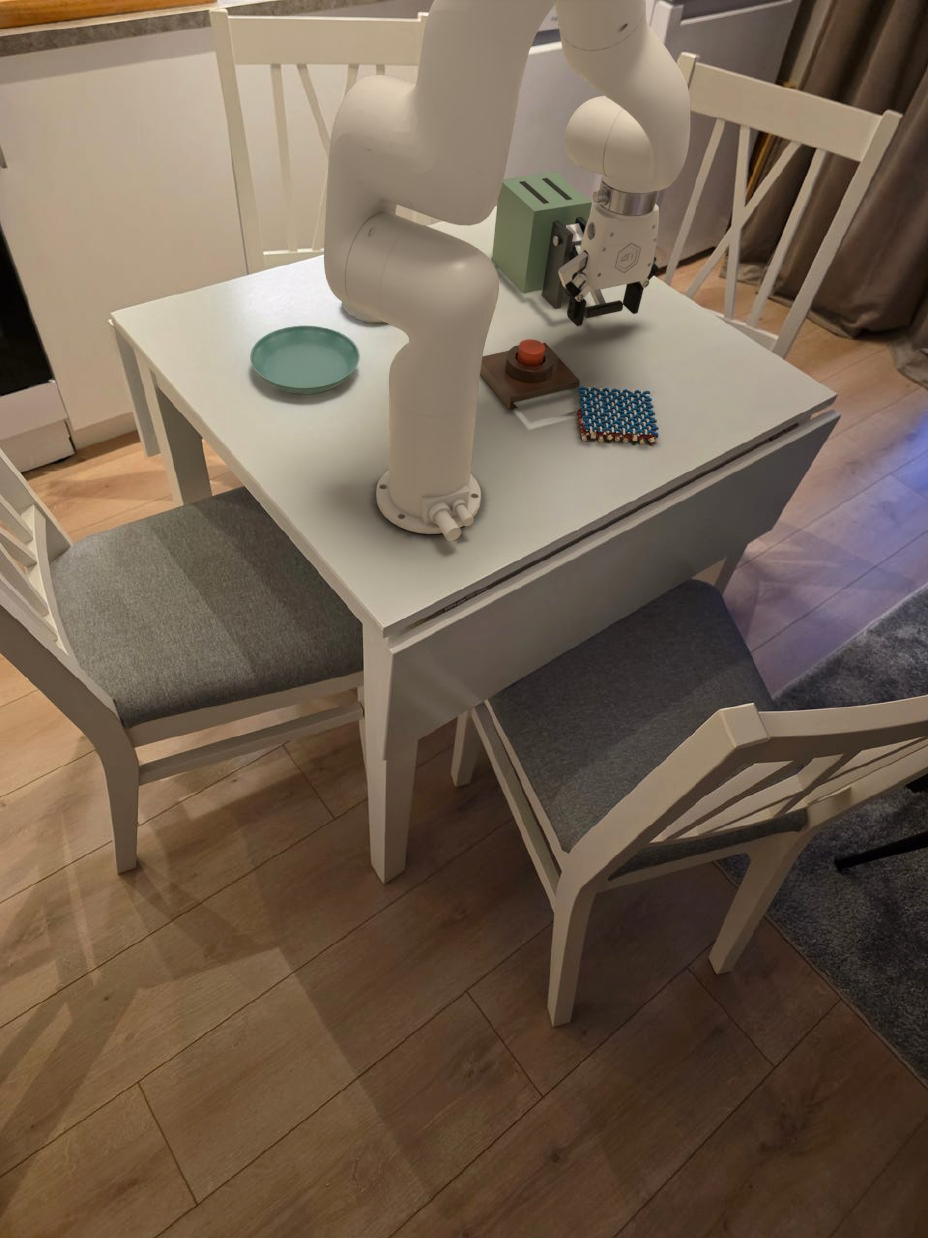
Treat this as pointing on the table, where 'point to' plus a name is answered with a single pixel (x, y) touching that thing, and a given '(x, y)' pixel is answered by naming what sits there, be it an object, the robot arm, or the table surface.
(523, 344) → the button
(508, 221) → the toaster
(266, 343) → the saucer
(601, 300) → the lever
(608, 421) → the woven mat
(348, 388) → the table surface
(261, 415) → the table surface
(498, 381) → the control block
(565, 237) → the bracket
